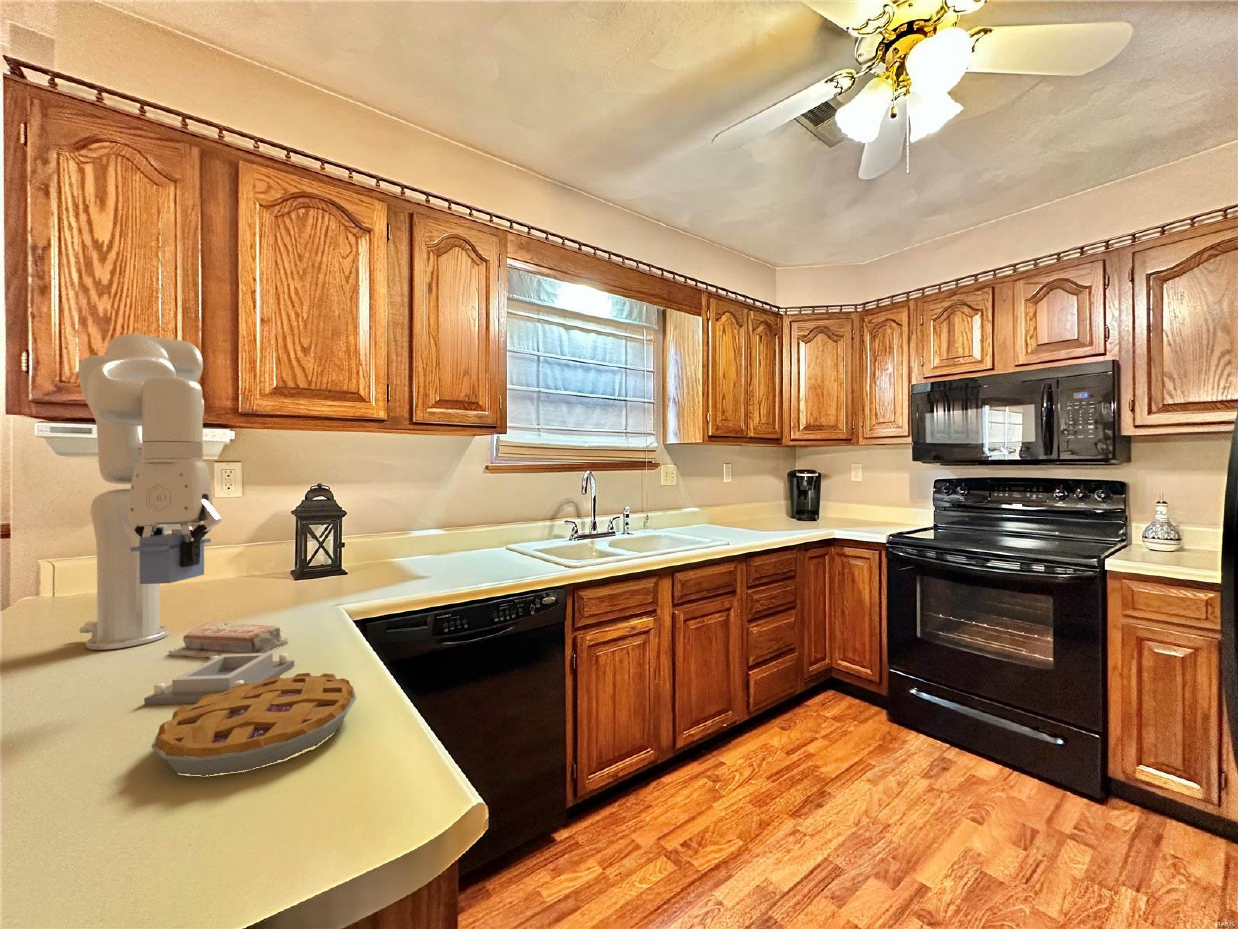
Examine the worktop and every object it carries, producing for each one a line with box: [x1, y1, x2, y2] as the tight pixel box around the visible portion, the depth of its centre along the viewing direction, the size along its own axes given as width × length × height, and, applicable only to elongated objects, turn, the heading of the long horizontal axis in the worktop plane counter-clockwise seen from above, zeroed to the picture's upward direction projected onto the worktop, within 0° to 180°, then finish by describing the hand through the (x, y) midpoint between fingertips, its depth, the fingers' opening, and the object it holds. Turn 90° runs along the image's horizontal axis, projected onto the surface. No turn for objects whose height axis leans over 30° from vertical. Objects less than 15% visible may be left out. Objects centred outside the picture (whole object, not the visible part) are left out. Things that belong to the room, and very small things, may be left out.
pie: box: [150, 672, 357, 776], centre depth 68 cm, size 22×22×5 cm
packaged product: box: [168, 622, 289, 658], centre depth 101 cm, size 18×5×10 cm
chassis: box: [143, 652, 295, 706], centre depth 84 cm, size 14×14×3 cm
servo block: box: [131, 528, 212, 585], centre depth 83 cm, size 4×10×8 cm, turn 2°
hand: (173, 565), depth 83 cm, fingers closed on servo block, 4 cm apart
